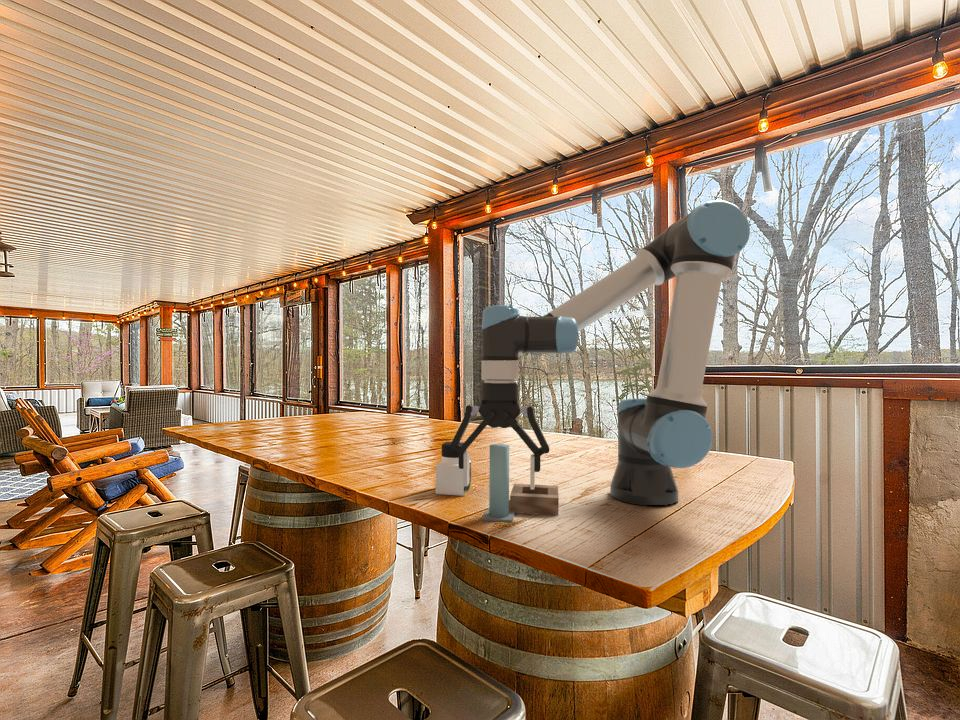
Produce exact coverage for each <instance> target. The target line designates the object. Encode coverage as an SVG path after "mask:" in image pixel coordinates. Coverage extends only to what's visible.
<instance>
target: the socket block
mask: <svg viewBox="0 0 960 720" xmlns="http://www.w3.org/2000/svg"><path fill="white" fill-rule="evenodd" d="M559 498H560V497H559V485H549V484H548V485H546V484H535V487H534V490H532V489H530V483H529V484H527V483H525V484H524V483H513V486H512V489H511V493H510V494H509V510H510V511H515V514H529V515H530V514H531V515H533V514H534V515H546V516H547V515H550V516H552V515H553V516H559V505H560V502H559Z"/></svg>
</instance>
